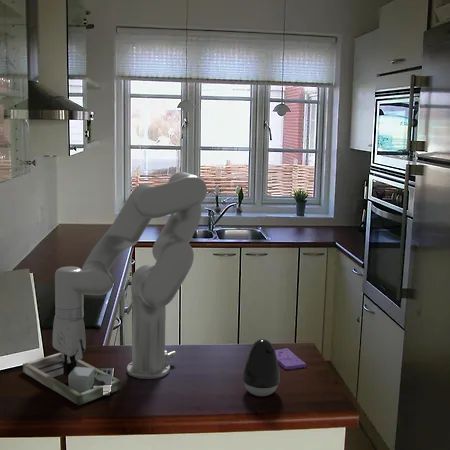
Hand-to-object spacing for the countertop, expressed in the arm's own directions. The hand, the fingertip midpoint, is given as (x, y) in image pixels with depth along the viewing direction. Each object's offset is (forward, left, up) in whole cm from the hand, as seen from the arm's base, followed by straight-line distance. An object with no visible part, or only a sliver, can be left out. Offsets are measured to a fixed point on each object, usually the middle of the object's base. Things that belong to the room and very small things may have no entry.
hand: (70, 374), depth 162 cm
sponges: (-56, +34, -3) cm, 66 cm away
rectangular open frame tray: (0, 0, -2) cm, 2 cm away
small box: (0, +6, -2) cm, 6 cm away
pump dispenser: (-33, +42, -2) cm, 54 cm away
